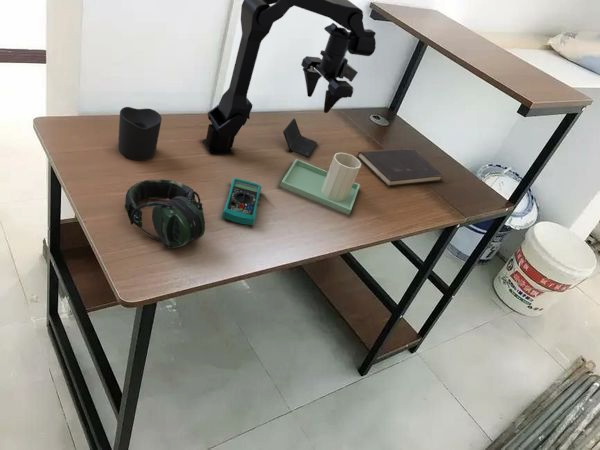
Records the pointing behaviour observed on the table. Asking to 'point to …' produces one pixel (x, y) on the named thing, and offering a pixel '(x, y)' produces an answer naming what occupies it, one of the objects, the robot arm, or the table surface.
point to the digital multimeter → (242, 202)
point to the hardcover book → (399, 167)
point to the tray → (315, 185)
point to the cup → (340, 176)
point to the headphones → (167, 210)
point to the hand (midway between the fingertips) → (317, 104)
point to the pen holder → (138, 132)
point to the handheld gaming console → (298, 140)
